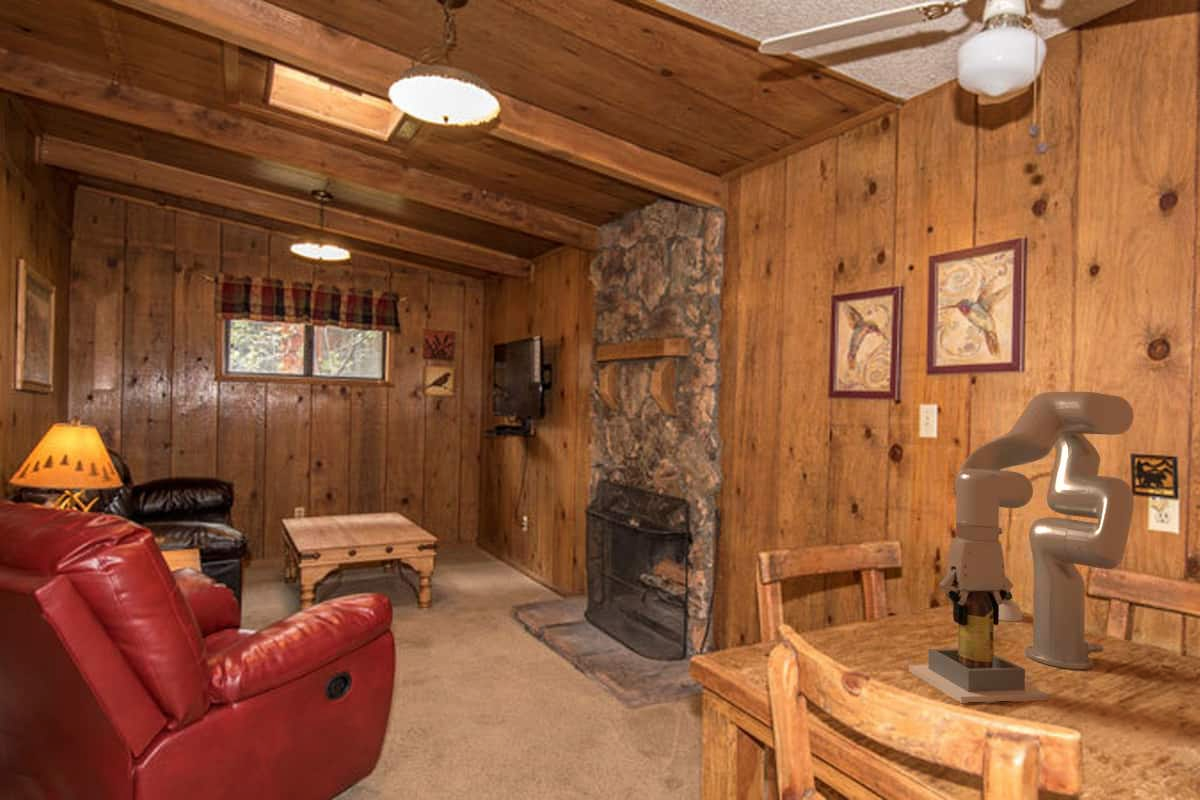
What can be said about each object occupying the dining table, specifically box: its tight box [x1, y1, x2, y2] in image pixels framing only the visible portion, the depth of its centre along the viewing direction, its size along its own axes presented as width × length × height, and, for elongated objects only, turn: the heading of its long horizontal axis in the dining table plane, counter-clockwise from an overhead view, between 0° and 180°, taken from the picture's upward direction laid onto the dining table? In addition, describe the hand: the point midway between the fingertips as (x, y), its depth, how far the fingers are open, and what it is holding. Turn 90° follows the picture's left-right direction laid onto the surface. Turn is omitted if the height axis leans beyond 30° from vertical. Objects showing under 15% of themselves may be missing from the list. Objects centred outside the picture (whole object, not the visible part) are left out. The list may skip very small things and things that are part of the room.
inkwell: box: [999, 590, 1024, 623], centre depth 181 cm, size 9×18×10 cm, turn 152°
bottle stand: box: [908, 647, 1048, 704], centre depth 135 cm, size 18×16×5 cm
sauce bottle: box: [957, 591, 995, 669], centre depth 135 cm, size 7×6×20 cm
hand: (975, 622), depth 135 cm, fingers closed on sauce bottle, 6 cm apart
